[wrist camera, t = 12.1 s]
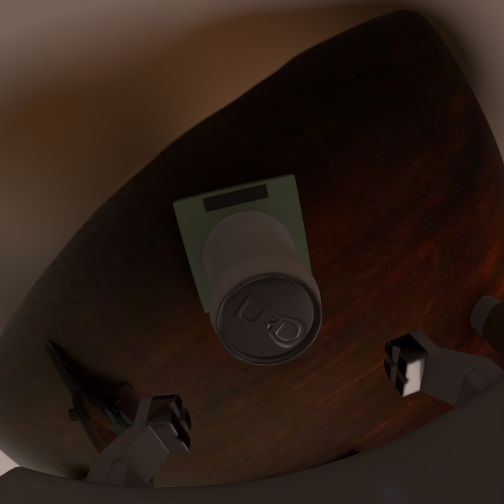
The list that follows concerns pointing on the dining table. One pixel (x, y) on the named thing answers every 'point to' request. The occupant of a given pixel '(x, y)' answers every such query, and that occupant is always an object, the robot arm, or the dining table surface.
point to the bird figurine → (94, 406)
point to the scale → (238, 221)
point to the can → (262, 297)
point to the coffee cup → (489, 321)
